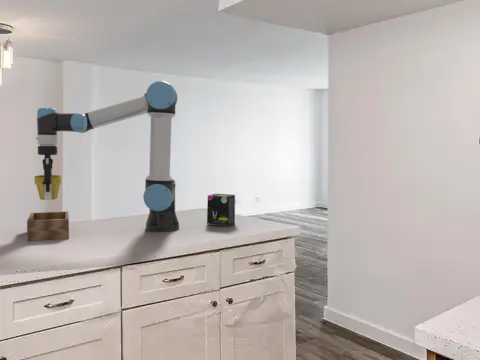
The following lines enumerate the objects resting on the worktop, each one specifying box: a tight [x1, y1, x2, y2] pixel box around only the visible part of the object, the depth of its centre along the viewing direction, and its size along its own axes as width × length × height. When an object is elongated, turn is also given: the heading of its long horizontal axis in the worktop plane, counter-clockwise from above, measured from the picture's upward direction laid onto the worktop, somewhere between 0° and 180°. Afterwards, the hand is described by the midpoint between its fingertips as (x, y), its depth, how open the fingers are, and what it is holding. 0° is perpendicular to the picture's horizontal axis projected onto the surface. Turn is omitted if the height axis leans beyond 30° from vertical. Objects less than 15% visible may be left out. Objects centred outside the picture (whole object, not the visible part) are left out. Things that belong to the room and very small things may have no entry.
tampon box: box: [206, 193, 236, 228], centre depth 222 cm, size 11×9×15 cm
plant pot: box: [34, 174, 62, 201], centre depth 193 cm, size 10×10×10 cm
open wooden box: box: [26, 210, 70, 242], centre depth 194 cm, size 15×22×8 cm
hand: (48, 198), depth 193 cm, fingers closed on plant pot, 10 cm apart
